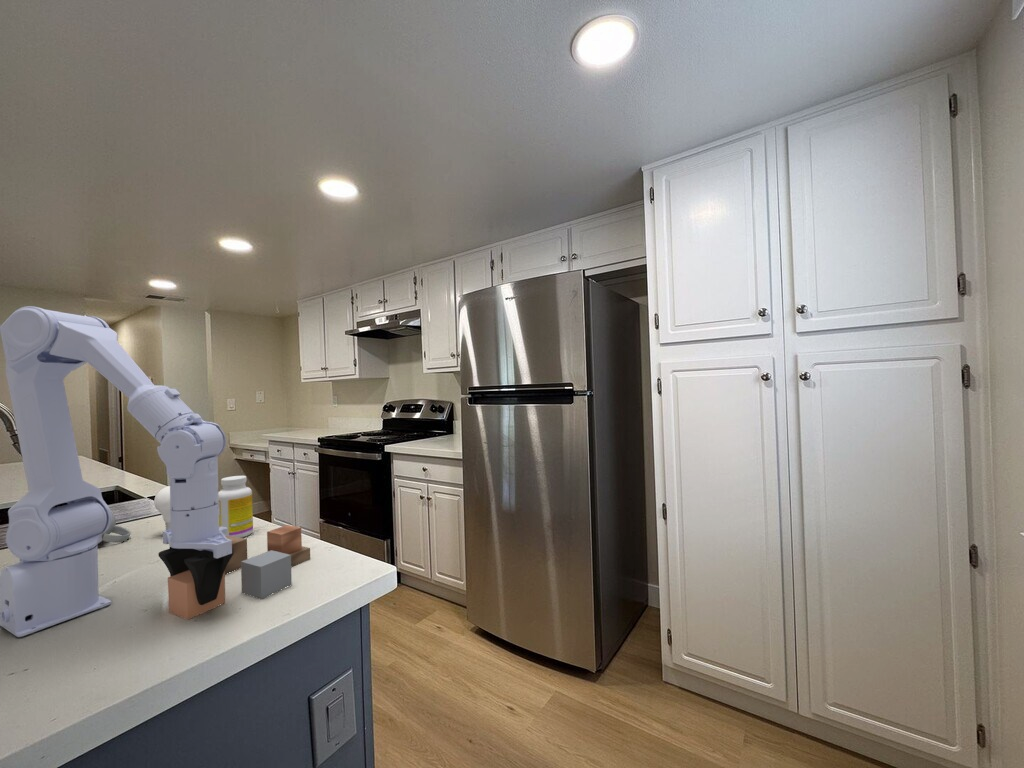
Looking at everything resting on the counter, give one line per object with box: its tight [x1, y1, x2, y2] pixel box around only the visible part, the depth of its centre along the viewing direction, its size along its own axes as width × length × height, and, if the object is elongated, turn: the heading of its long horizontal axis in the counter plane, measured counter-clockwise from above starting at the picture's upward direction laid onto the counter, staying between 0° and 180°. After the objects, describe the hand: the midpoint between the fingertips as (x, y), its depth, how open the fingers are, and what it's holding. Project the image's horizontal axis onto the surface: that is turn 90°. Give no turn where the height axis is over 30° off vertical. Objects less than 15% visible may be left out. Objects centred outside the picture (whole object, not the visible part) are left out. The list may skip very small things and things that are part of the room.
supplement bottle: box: [218, 475, 254, 538], centre depth 93 cm, size 7×7×13 cm
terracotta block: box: [167, 570, 226, 620], centre depth 62 cm, size 5×5×5 cm
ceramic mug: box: [97, 511, 132, 545], centre depth 90 cm, size 11×8×8 cm
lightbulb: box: [153, 485, 171, 530], centre depth 95 cm, size 6×6×11 cm
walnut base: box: [169, 536, 248, 577], centre depth 75 cm, size 8×8×5 cm
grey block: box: [240, 550, 293, 600], centre depth 68 cm, size 5×5×5 cm
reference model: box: [261, 524, 311, 567], centre depth 78 cm, size 6×6×6 cm
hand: (197, 597), depth 62 cm, fingers closed on terracotta block, 5 cm apart
